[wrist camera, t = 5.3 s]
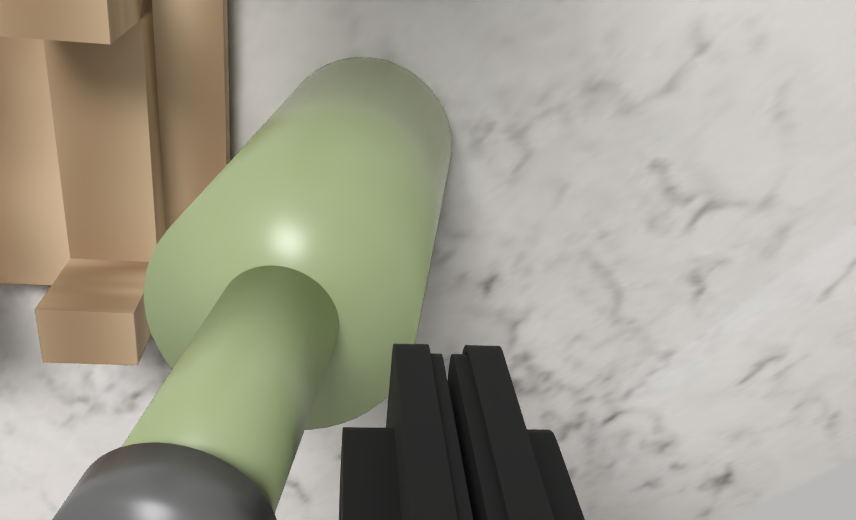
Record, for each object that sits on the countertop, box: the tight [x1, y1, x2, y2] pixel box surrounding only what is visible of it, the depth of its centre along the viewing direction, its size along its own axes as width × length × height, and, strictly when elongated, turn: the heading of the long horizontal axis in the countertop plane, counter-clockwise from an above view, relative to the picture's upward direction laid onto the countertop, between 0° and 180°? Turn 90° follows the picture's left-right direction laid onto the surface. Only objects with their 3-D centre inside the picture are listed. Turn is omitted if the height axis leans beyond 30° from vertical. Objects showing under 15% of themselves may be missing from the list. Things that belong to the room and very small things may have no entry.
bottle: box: [52, 57, 452, 520], centre depth 16 cm, size 5×5×16 cm
